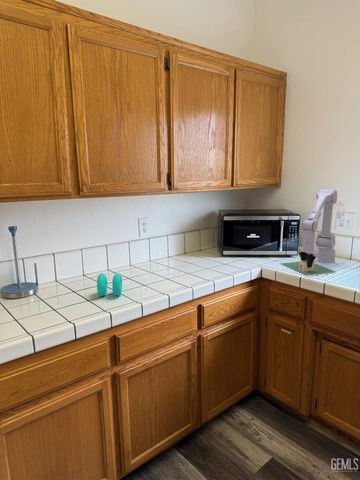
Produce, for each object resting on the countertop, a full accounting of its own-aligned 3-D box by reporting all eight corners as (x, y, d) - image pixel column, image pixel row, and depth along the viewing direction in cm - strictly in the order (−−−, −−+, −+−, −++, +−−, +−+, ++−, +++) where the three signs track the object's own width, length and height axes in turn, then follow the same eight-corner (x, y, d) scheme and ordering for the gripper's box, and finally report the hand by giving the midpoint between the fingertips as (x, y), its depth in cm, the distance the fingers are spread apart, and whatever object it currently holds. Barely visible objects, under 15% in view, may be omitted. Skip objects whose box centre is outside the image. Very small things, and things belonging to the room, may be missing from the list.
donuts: (100, 291, 155) (99, 270, 153) (122, 290, 156) (121, 270, 153) (97, 299, 145) (95, 277, 143) (120, 299, 146) (119, 277, 144)
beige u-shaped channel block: (309, 268, 188) (309, 259, 187) (313, 270, 184) (314, 261, 183) (298, 269, 186) (299, 260, 185) (303, 271, 182) (303, 262, 181)
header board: (307, 261, 204) (308, 256, 203) (337, 273, 182) (337, 267, 181) (279, 264, 198) (279, 259, 198) (305, 276, 176) (306, 271, 175)
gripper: (293, 239, 187) (292, 263, 190) (311, 245, 174) (309, 270, 177) (304, 239, 189) (302, 262, 192) (322, 244, 176) (320, 269, 179)
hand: (306, 266), depth 184 cm, fingers closed on beige u-shaped channel block, 4 cm apart
